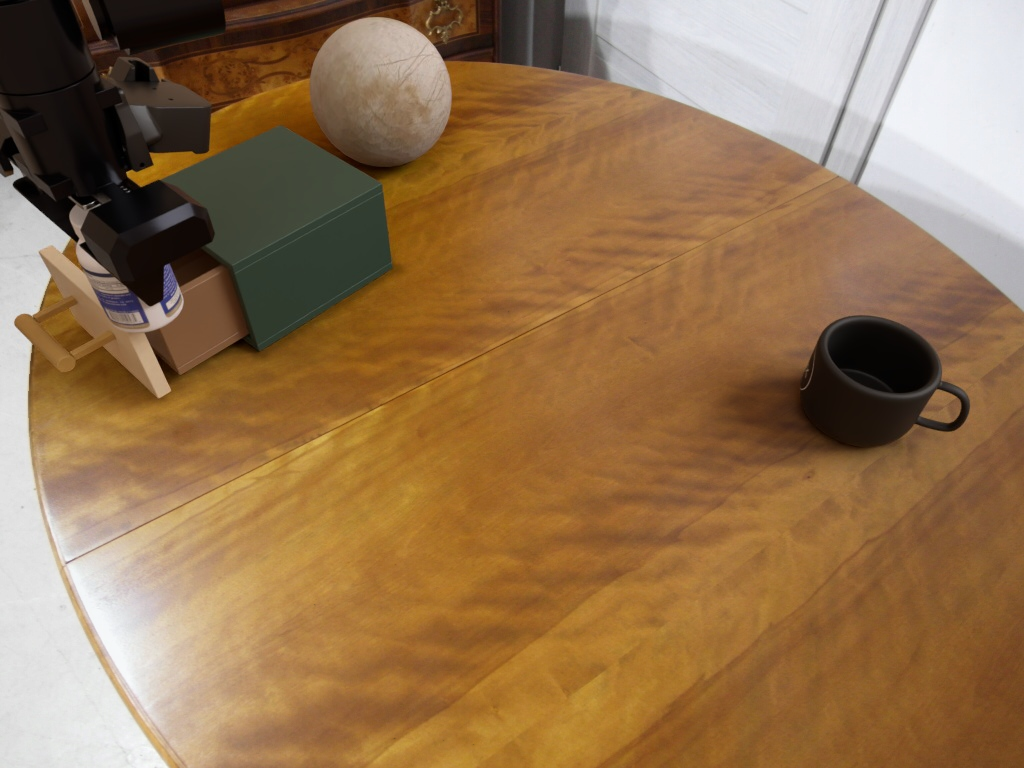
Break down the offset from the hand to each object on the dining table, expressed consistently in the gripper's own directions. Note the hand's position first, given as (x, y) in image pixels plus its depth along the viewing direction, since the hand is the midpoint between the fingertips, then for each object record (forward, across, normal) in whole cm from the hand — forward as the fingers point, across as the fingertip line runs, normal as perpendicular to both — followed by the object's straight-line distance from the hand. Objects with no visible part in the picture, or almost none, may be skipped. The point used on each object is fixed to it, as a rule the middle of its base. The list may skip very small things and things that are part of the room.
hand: (135, 284), depth 55 cm
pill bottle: (+3, 0, 0) cm, 3 cm away
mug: (+12, -42, -37) cm, 57 cm away
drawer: (+11, +7, -3) cm, 13 cm away
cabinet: (+12, +7, -15) cm, 20 cm away
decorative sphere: (+12, +16, -36) cm, 41 cm away
